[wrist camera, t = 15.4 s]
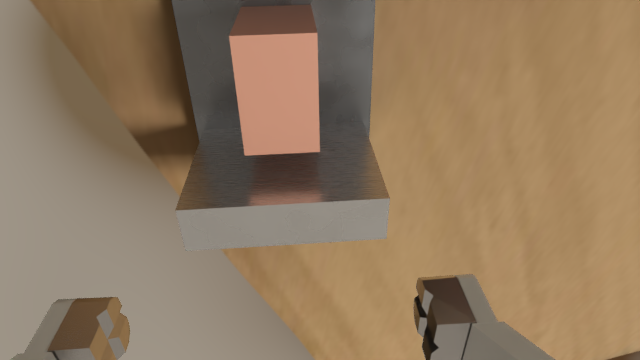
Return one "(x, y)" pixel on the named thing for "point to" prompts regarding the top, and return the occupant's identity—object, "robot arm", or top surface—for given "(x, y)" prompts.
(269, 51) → the block
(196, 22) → the tray
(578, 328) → the top surface
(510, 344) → the robot arm
